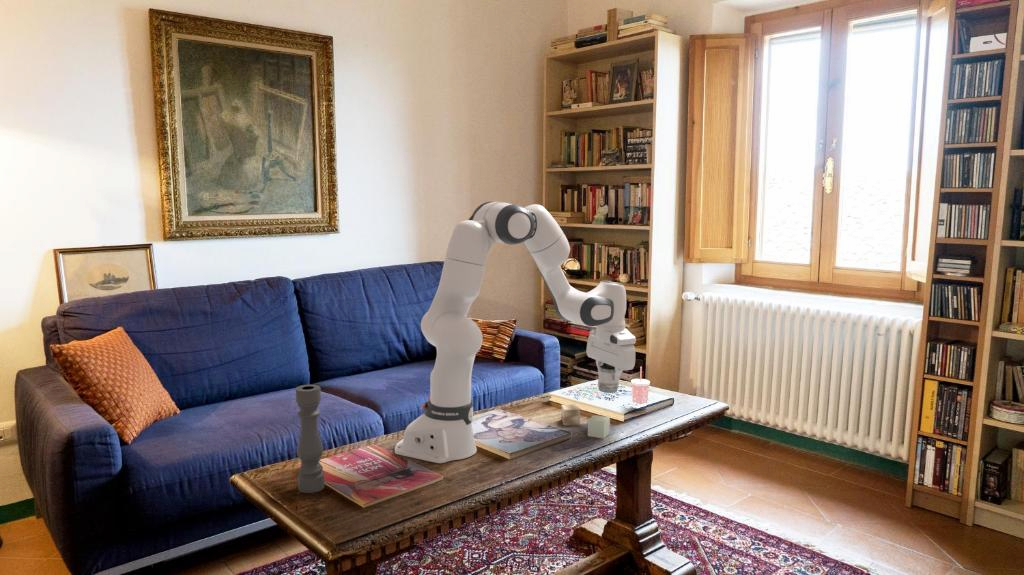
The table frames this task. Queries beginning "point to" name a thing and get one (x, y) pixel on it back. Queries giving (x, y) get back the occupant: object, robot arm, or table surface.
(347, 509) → the table surface
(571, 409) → the birch cube
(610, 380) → the potted succulent
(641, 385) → the beverage cup
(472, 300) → the robot arm
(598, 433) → the sage cube
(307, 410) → the candle holder
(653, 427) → the table surface
